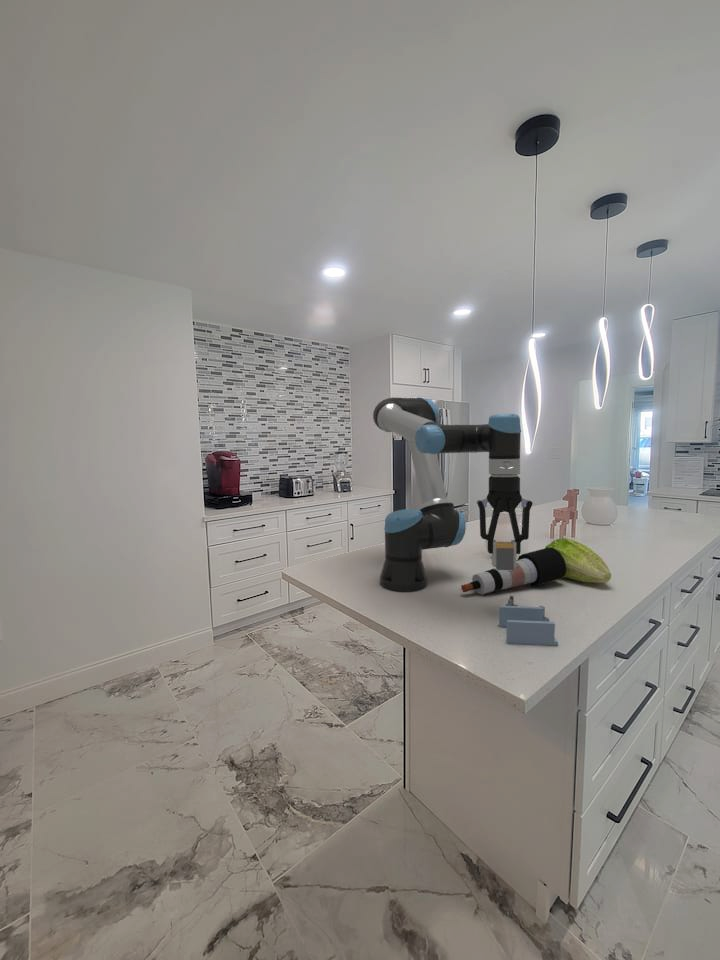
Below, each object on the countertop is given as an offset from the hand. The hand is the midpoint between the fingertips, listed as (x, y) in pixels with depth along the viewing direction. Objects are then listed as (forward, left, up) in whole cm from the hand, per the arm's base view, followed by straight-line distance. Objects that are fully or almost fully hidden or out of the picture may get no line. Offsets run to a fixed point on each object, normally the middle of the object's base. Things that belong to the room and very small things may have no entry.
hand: (503, 565), depth 104 cm
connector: (0, -1, 0) cm, 1 cm away
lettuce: (+30, +30, -13) cm, 44 cm away
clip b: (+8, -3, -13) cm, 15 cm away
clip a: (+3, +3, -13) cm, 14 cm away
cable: (+7, +20, -14) cm, 25 cm away
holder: (+3, -11, -13) cm, 17 cm away
